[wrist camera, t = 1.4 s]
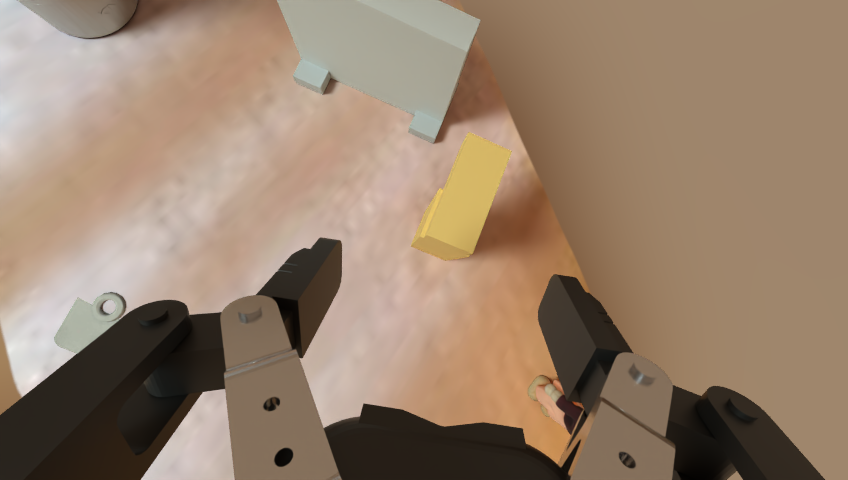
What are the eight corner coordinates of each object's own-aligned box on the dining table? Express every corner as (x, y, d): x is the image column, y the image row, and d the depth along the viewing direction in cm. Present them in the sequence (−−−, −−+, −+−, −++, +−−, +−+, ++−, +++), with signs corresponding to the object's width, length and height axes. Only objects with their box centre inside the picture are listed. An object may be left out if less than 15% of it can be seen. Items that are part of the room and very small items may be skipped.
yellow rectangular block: (410, 246, 33) (422, 233, 21) (438, 179, 34) (464, 130, 22) (445, 260, 33) (476, 255, 21) (471, 193, 34) (515, 153, 22)
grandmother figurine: (580, 401, 33) (696, 482, 21) (558, 431, 33) (664, 532, 20) (528, 354, 33) (612, 406, 21) (505, 382, 33) (578, 453, 20)
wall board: (296, 82, 33) (243, -22, 21) (323, 28, 34) (287, -101, 22) (433, 143, 34) (457, 76, 22) (456, 89, 35) (490, -3, 23)
